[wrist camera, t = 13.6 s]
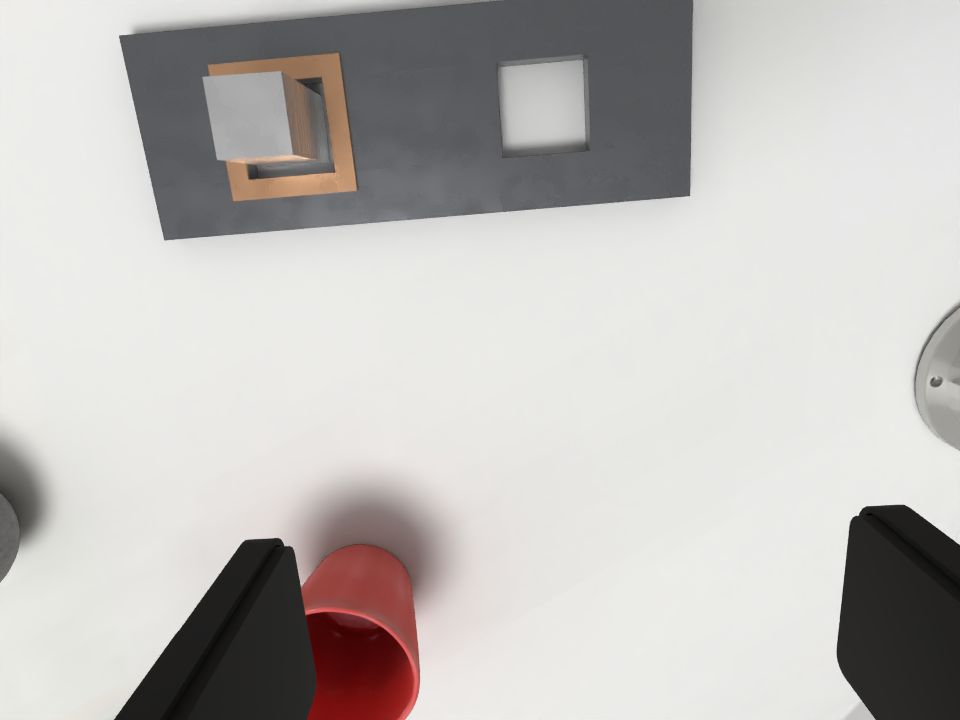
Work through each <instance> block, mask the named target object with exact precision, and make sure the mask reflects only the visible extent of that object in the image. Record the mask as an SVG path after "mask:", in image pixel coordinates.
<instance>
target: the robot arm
mask: <svg viewBox="0 0 960 720" xmlns="http://www.w3.org/2000/svg"><path fill="white" fill-rule="evenodd" d="M915 386H916V400H917V404H918V408H919V412H920V414H921V416H922V418H923V420H924V422H925V424H926V425H927V426H928V428H929V429H930V430H931V431H932V432H933V433H934V434H935V436H937V437H938V438H940V439H941V440H942V441H944V442H945V443H947V444H948V445H950V446H952V447H954V448H956V449H958V450H960V308H959V309H958V310H956V311H955V312H954V313H953V314H952V315H951V316H950V317H949V318H947V319H946V320H945V321H944V322H943V324H942V325H941V326H940V327H939V329H938V330H937V331H936V332H935V333H934V335H933V336H932V338H931V340H930V341H929V343H928V345H927V347H926V348H925V350H924V352H923V355H922V358H921V360H920V363H919V366H918V371H917V376H916V382H915ZM837 660H838V663H839V667H840V669H841V671H842V673H843V675H844V677H845V678H846V680H847V681H848V682H849V684H850V685H851V687H852V688H853V689H854V691H855V692H856V693H857V695H858V696H859V697H860V699H861V700H862V702H863V703H864V704H865V706H866V707H867V708H868V710H869V711H870V712H871V714H872V715H873V717H874V718H875V719H876V720H960V545H959V544H958V543H956V542H955V541H954V540H952V539H951V538H950V537H948V536H947V535H946V534H944V533H943V532H942V531H940V530H939V529H938V528H936V527H935V526H934V525H932V524H931V523H930V522H928V521H927V520H926V519H924V518H923V517H922V516H920V515H919V514H918V513H916V512H915V511H913V510H912V509H911V508H909V507H907V506H905V505H885V506H866V507H865V508H863V509H862V510H861V512H860V513H859V516H855V517H853V518H852V520H851V522H850V527H849V537H848V546H847V556H846V565H845V575H844V585H843V594H842V604H841V613H840V623H839V632H838V642H837ZM315 692H316V670H315V665H314V659H313V654H312V648H311V642H310V637H309V631H308V625H307V620H306V614H305V608H304V603H303V597H302V592H301V586H300V580H299V575H298V569H297V563H296V558H295V553H294V550H293V548H292V547H291V546H284V544H283V542H282V540H281V539H279V538H271V539H253V540H245V541H244V542H243V543H242V544H241V545H240V547H239V548H238V549H237V551H236V552H235V554H234V555H233V556H232V558H231V559H230V561H229V562H228V563H227V565H226V566H225V567H224V569H223V570H222V572H221V573H220V574H219V576H218V577H217V579H216V580H215V581H214V583H213V584H212V586H211V587H210V588H209V590H208V591H207V593H206V594H205V595H204V597H203V598H202V599H201V601H200V602H199V604H198V605H197V606H196V608H195V609H194V611H193V612H192V613H191V615H190V616H189V618H188V619H187V620H186V622H185V623H184V625H183V626H182V627H181V629H180V630H179V631H178V632H177V633H176V634H175V636H174V637H173V639H172V640H171V641H170V643H169V644H168V646H167V647H166V648H165V650H164V651H163V653H162V654H161V655H160V657H159V658H158V659H157V661H156V662H155V664H154V665H153V666H152V668H151V669H150V671H149V672H148V673H147V675H146V676H145V678H144V679H143V680H142V682H141V683H140V684H139V686H138V687H137V689H136V690H135V691H134V693H133V694H132V696H131V697H130V698H129V700H128V701H127V702H126V704H125V705H124V707H123V708H122V709H121V711H120V712H119V714H118V715H117V716H116V718H115V719H114V720H307V718H308V715H309V712H310V709H311V706H312V704H313V701H314V697H315Z"/></svg>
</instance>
